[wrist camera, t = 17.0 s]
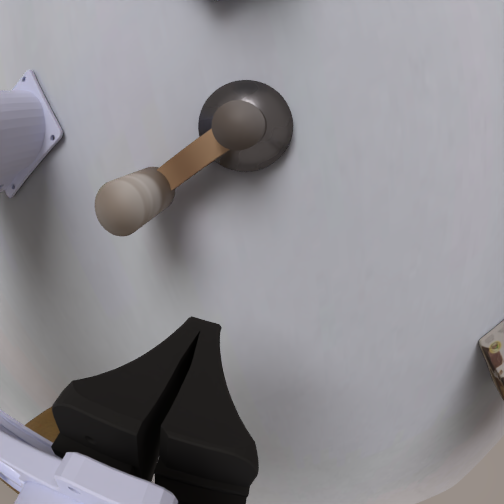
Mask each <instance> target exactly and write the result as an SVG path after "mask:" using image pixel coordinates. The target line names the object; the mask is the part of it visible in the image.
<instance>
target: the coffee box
mask: <svg viewBox="0 0 504 504" xmlns="http://www.w3.org/2000/svg"><path fill="white" fill-rule="evenodd" d="M479 345H480V347H481V350H482V353H483V355H484V358H485V360H486V363H487V366H488V368H489V371H490V374H491V377H492V380H493V382H494V384H495V386H496V388H497V389H498V391H499V393H500V395H501V397H502V399H503V400H504V320H503V321H502V322H501V323H500V324H498V325H497V326H496V327H495V328H493V329H492V330H491V331H490V332H488V333H487V334H486V335H485V336H483V337H482V338H481V339H480V340H479Z"/></svg>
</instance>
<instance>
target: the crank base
mask: <svg viewBox="0 0 504 504" xmlns="http://www.w3.org/2000/svg"><path fill="white" fill-rule="evenodd" d="M233 100H243V101H247V102H249V103H251V104H253V105H254V106H256V107H257V108H258V109H260V110H261V111H262V113H263V114H264V116H265V118H266V122H267V129H266V133H265V135H264V137H263V138H262V140H261V141H260V142H258V143H257V144H255V145H254V146H252V147H250V148H248V149H245V150H240V151H235V150H229V151H227V152H226V153H225V154H223V155H222V156H220V157H219V158H217V159H216V160H215V161H216V162H217V163H219V164H220V165H222V166H224V167H226V168H228V169H231V170H235V171H242V172H249V171H256V170H260V169H263V168H265V167H267V166H269V165H271V164H272V163H274V162H275V161H276V160H278V159H279V158H280V157H281V155H282V154H283V153H284V152H285V150H286V149H287V147H288V145H289V143H290V140H291V137H292V132H293V120H292V115H291V111H290V109H289V106H288V105H287V103H286V101H285V100H284V98H283V97H282V96H281V95H280V94H279V93H278V92H277V91H276V90H274V89H273V88H271V87H270V86H268V85H266V84H263V83H261V82H257V81H251V80H241V81H235V82H231V83H228V84H226V85H224V86H222V87H220V88H219V89H217V90H216V91H215V92H214V93H213V94H212V95H211V96H210V97H209V98H208V99H207V101H206V102H205V104H204V105H203V108H202V110H201V113H200V116H199V125H198V129H199V136H202V135H203V134H205V133H206V132H207V131H209V130H210V129H212V119H213V116H214V114H215V112H216V111H217V109H218V108H219V107H220V106H222V105H223V104H225V103H227V102H229V101H233Z"/></svg>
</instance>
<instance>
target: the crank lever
mask: <svg viewBox="0 0 504 504" xmlns="http://www.w3.org/2000/svg"><path fill="white" fill-rule="evenodd" d="M266 129H267V122H266V118H265V116H264V114H263V113H262V111H261V110H260V109H258V108H257V107H256V106H254V105H253V104H251V103H249V102H247V101H243V100H233V101H229V102H227V103H225V104H223V105H222V106H220V107H219V108H218V109H217V111H216V112H215V114H214V116H213V119H212V129H210V130H209V131H207V132H206V133H205V134H203V135H202V136H200V137H199V138H198V139H196V140H195V141H194V142H192V143H191V144H190V145H188V146H187V147H186V148H184V149H183V150H182V151H180V152H179V153H178V154H176V155H175V156H174V157H172V158H171V159H170V160H169V161H167V162H166V163H165V164H163V165H162V166H161V167H160V168H158V167H148V168H145V169H142V170H139V171H137V172H134V173H131V174H128V175H126V176H123V177H120V178H118V179H115V180H112V181H110V182H107V183H106V184H104V185H103V186H102V187H101V188H100V189H99V191H98V193H97V195H96V199H95V212H96V215H97V218H98V220H99V222H100V224H101V225H102V226H103V227H104V228H105V229H106V230H107V231H108V232H110V233H111V234H113V235H116V236H127V235H130V234H132V233H134V232H135V231H136V230H138V229H139V228H140V227H142V226H143V225H144V224H146V223H147V222H148V221H150V220H151V219H152V218H154V217H155V216H156V215H158V214H159V213H160V212H162V211H163V210H165V209H166V208H167V207H168V206H169V205H170V204H171V203H172V201H173V198H174V195H175V189H176V188H177V187H178V186H180V185H181V184H182V183H184V182H185V181H186V180H188V179H189V178H190V177H192V176H193V175H195V174H196V173H197V172H199V171H200V170H202V169H203V168H204V167H206V166H207V165H209V164H210V163H212V162H213V161H214V160H216V159H217V158H219V157H220V156H222V155H223V154H225V153H226V152H227V151H229V150H235V151H240V150H245V149H248V148H250V147H252V146H254V145H255V144H257V143H258V142H260V141H261V140H262V138H263V137H264V135H265V133H266Z"/></svg>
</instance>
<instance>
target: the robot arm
mask: <svg viewBox="0 0 504 504" xmlns="http://www.w3.org/2000/svg"><path fill="white" fill-rule="evenodd" d="M25 78H26V80H25ZM53 136H54V137H55V139H53ZM62 136H63V131H62V129H61V127H60V125H59V123H58V121H57V119H56V117H55V115H54V113H53V111H52V110H51V108H50V106H49V104H48V102H47V100H46V98H45V96H44V94H43V92H42V89H41V87H40V85H39V83H38V81H37V79H36V77H35V75H34V73H33V71H32V70H27V71H26V72H25V73H24V75H23V76H22V77H21V78H20V80H19V81H18V82H17V84H16V85H15V86H14V88H13V89H12V90H2V91H0V192H2V191H5V192H6V194H7V196H8V197H9V198H11V197H13V196H14V195H15V193H16V192H17V191H18V189H19V188H20V187H21V185H22V184H23V183H24V182H25V180H26V179H27V178H28V176H29V175H30V174H31V173H32V171H33V170H34V169H35V168H36V167H37V165H38V164H39V163H40V162H41V161H42V159H43V158H44V157H45V156H46V155H47V154H48V152H49V151H50V150H51V149H52V148H53V147H54V146H55V145H56V143H57V142H58V141H59V140H60V139H61V138H62ZM14 185H15V186H14ZM220 331H221V326H220V325H219V324H216V323H212V322H209V321H205V320H202V319H198V318H195V317H190V318H188V319H187V321H186V322H185V323H184V324H183V325H182V326H181V327H179V328H178V329H177V330H176V331H175V332H174V333H173V334H172V335H170V336H169V337H168V338H167V339H165V340H164V341H163V342H162V343H160V344H159V345H157V346H156V347H155V348H153V349H152V350H150V351H149V352H147V353H146V354H144V355H142V356H141V357H139V358H137V359H135V360H133V361H132V362H129V363H127V364H125V365H123V366H121V367H119V368H116V369H114V370H111V371H108V372H105V373H103V374H100V375H97V376H93V377H89V378H84V379H79V380H74V381H72V382H71V383H70V384H69V385H68V386H67V387H66V388H65V389H64V390H63V391H62V393H61V394H60V396H59V397H58V398H57V400H56V401H55V403H54V404H53V406H52V413H53V416H54V419H55V421H56V424H57V426H58V429H59V431H60V433H59V434H58V436H57V438H56V439H55V441H54V443H53V442H51V441H49V440H47V439H46V438H44V437H42V436H41V435H39V434H37V433H36V432H34V431H32V430H31V429H29V428H28V427H26V426H24V425H23V424H21V423H20V422H18V421H17V420H15V419H14V418H12V417H11V416H9V415H8V414H7V413H5V412H4V411H2V410H1V409H0V478H1V479H3V480H4V481H5V482H6V483H8V484H9V485H10V486H12V487H13V488H14V489H16V490H17V491H19V492H20V493H19V495H18V497H17V499H16V501H15V502H14V504H246V498H247V497H248V494H249V488H250V485H251V484H252V482H253V481H254V479H255V478H256V477H257V474H258V468H259V467H258V455H257V450H256V445H255V441H254V440H253V439H252V437H251V436H250V434H249V432H248V431H247V429H246V428H245V426H244V424H243V422H242V421H241V419H240V417H239V415H238V413H237V410H236V408H235V406H234V404H233V402H232V399H231V396H230V394H229V391H228V388H227V384H226V381H225V377H224V373H223V368H222V362H221V354H220ZM158 458H159V459H158ZM157 461H158V462H157ZM153 474H155V484H154V483H152V482H151V481H152V478H153Z"/></svg>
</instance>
